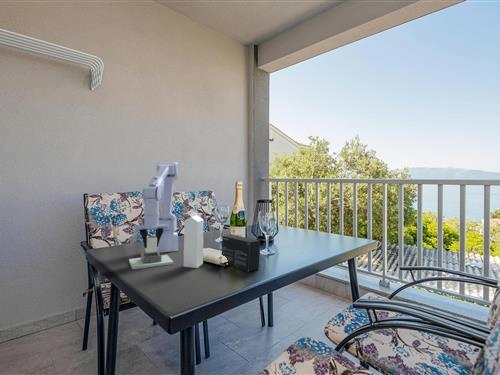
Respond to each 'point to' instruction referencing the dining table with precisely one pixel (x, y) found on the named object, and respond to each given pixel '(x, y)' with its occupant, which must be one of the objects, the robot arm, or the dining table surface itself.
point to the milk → (193, 241)
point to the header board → (150, 260)
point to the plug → (151, 244)
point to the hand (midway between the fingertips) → (151, 246)
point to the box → (241, 252)
